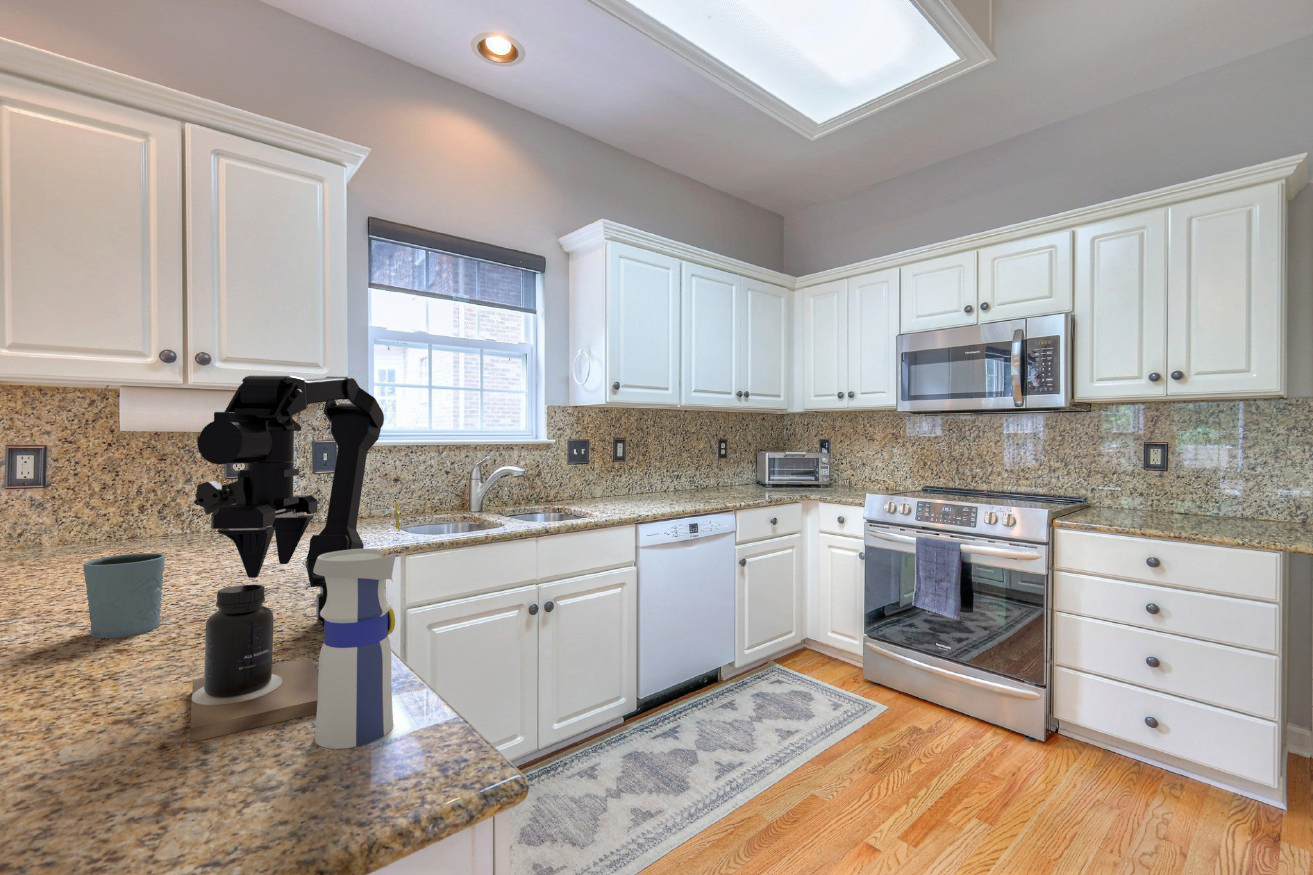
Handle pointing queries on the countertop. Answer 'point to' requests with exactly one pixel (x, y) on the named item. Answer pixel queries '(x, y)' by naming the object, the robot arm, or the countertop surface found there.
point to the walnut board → (256, 702)
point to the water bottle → (355, 648)
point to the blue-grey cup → (124, 594)
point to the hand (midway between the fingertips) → (269, 570)
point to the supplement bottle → (238, 643)
